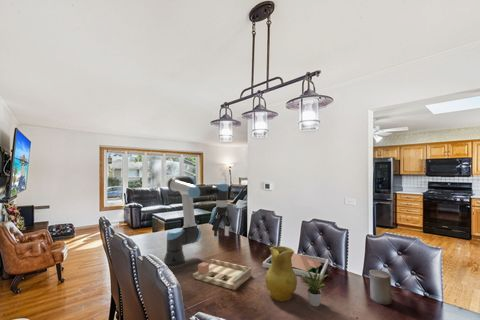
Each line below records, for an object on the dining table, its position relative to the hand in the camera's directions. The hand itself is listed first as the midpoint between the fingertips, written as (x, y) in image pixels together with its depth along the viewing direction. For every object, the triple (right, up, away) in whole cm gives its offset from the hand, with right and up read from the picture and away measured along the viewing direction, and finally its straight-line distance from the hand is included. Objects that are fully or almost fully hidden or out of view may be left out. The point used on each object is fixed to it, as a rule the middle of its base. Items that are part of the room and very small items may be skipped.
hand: (221, 238), depth 154 cm
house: (+53, -24, +12) cm, 60 cm away
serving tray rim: (+53, -24, +12) cm, 60 cm away
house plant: (+52, -22, -35) cm, 66 cm away
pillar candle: (+87, -22, -32) cm, 95 cm away
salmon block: (-11, -20, -5) cm, 24 cm away
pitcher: (+36, -22, -27) cm, 50 cm away
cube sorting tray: (0, -23, -6) cm, 24 cm away
